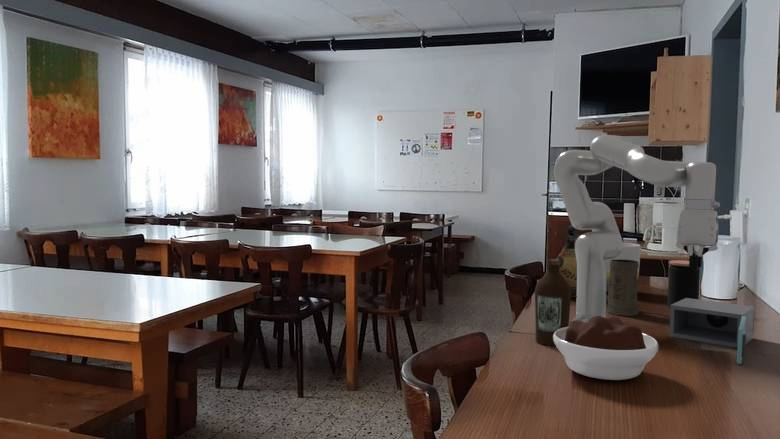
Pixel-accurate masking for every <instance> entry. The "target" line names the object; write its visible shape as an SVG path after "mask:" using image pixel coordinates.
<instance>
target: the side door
mask: <svg viewBox="0 0 780 439" xmlns="http://www.w3.org/2000/svg"><path fill="white" fill-rule="evenodd" d="M746 348H747V344H746V317H745V316H742V318H741V322H740V325H739V329H738V348H736V349H737V350H736V351H737V352H736V354H737V355H736V364H738V365H742V362H743V359H745V358H746Z"/></svg>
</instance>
